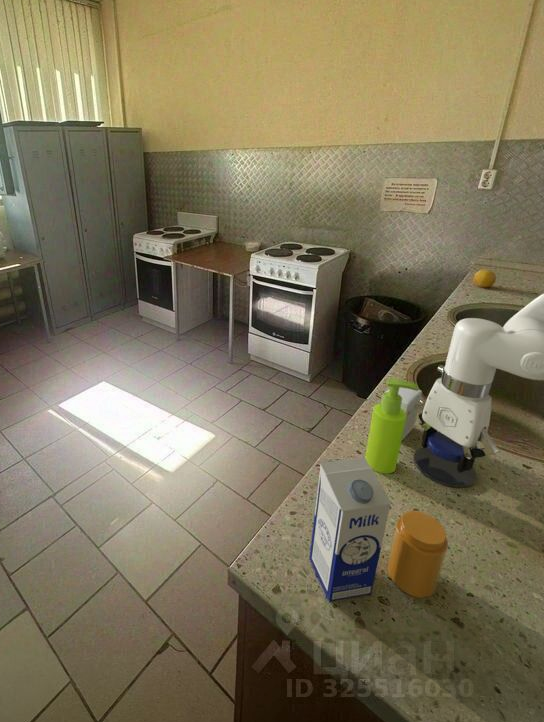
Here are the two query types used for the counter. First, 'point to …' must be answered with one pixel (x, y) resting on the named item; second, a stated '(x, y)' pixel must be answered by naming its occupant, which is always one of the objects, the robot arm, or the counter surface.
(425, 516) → the jar
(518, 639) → the counter surface
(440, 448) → the lid
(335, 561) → the milk carton
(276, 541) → the counter surface
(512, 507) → the counter surface
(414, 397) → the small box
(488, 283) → the fruit
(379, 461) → the soap dispenser
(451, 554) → the counter surface
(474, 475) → the coaster
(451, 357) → the robot arm
